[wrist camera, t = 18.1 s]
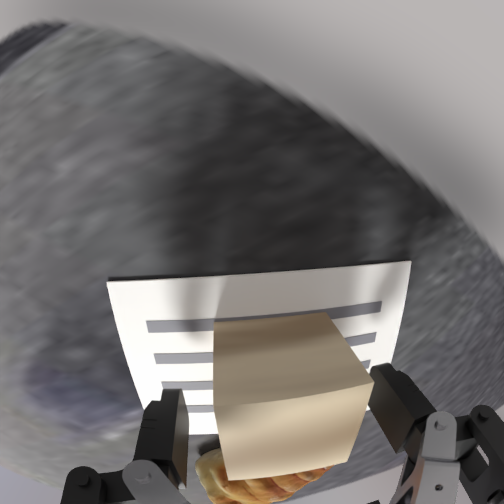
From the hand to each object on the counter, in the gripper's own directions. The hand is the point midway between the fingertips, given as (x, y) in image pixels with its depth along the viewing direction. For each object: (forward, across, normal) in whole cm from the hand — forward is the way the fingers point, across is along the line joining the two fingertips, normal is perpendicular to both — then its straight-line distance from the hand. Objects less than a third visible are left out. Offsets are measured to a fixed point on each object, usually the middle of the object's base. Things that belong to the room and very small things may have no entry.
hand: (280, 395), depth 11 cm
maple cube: (+3, 0, 0) cm, 3 cm away
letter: (+3, 0, 0) cm, 3 cm away
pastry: (+3, 0, +9) cm, 10 cm away
